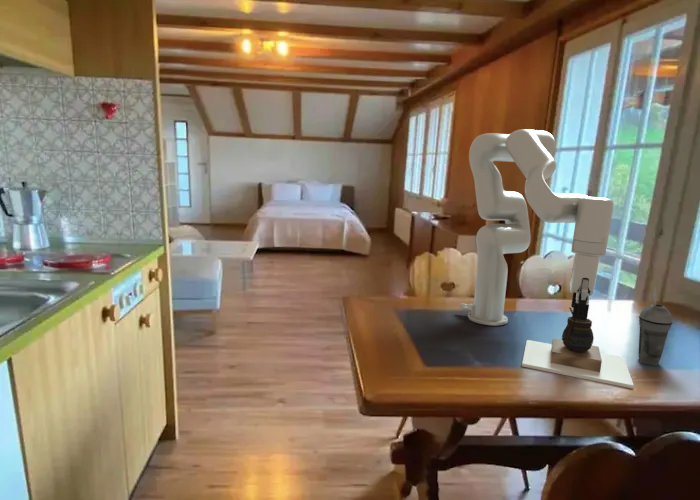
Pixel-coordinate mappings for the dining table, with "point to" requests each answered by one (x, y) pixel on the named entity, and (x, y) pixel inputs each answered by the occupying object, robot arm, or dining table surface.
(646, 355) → the beverage cup
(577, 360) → the walnut plinth
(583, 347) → the mate gourd
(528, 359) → the board
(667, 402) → the dining table surface
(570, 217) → the robot arm
